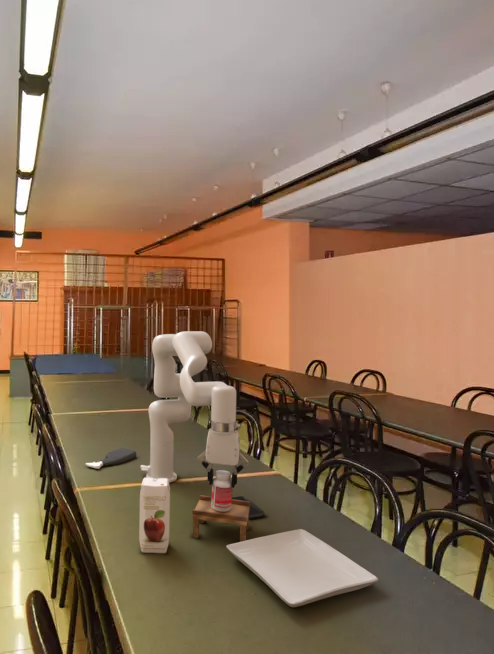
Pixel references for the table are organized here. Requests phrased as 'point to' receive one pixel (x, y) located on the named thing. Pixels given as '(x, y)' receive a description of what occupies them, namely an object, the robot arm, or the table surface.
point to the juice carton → (154, 515)
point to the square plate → (301, 567)
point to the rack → (222, 515)
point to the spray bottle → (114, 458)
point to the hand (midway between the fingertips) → (222, 484)
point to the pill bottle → (221, 491)
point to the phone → (251, 508)
